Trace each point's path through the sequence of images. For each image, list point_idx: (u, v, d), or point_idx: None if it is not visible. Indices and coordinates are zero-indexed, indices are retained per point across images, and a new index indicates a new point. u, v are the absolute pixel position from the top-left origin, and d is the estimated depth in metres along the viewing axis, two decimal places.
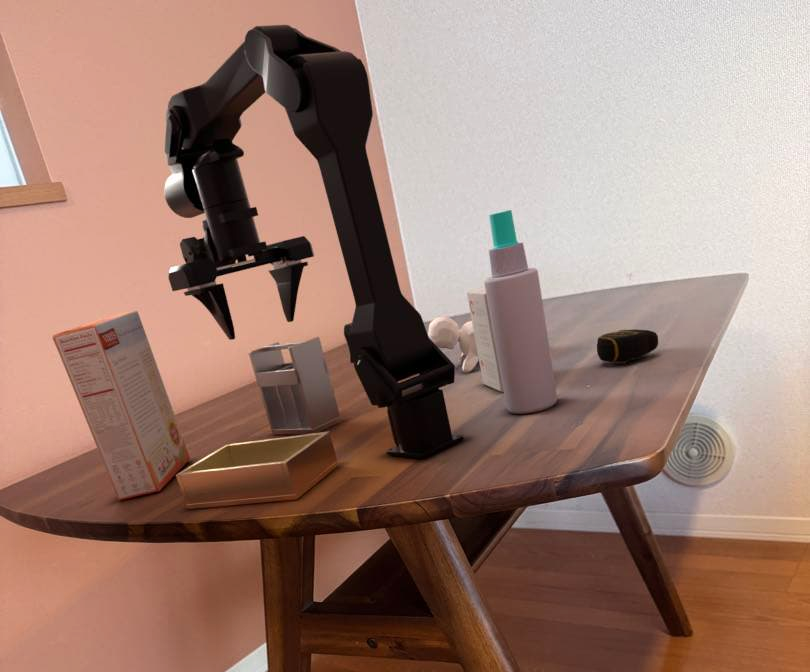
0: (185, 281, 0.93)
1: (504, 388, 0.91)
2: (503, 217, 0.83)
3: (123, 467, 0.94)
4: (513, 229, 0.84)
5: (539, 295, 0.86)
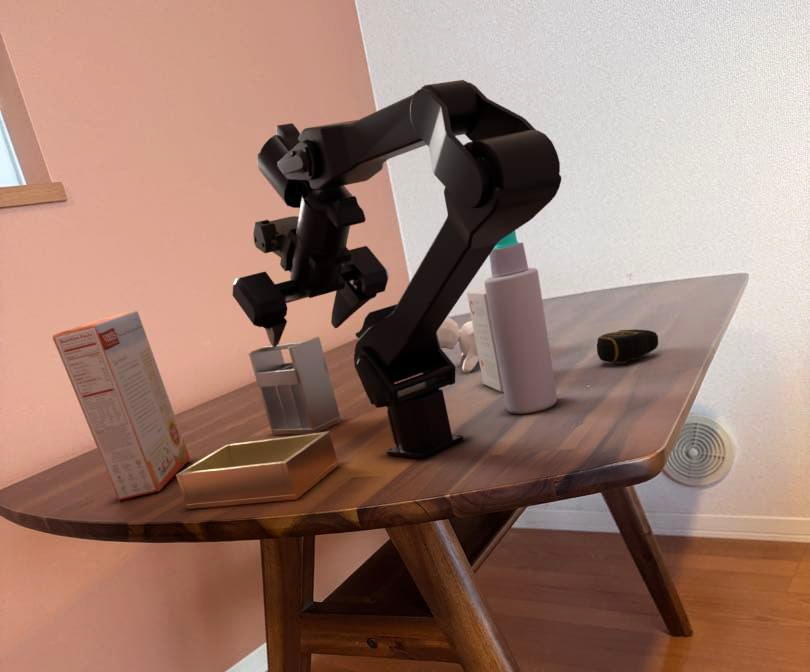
0: (251, 315, 0.88)
1: (504, 388, 0.91)
2: None
3: (123, 467, 0.94)
4: None
5: (539, 295, 0.86)
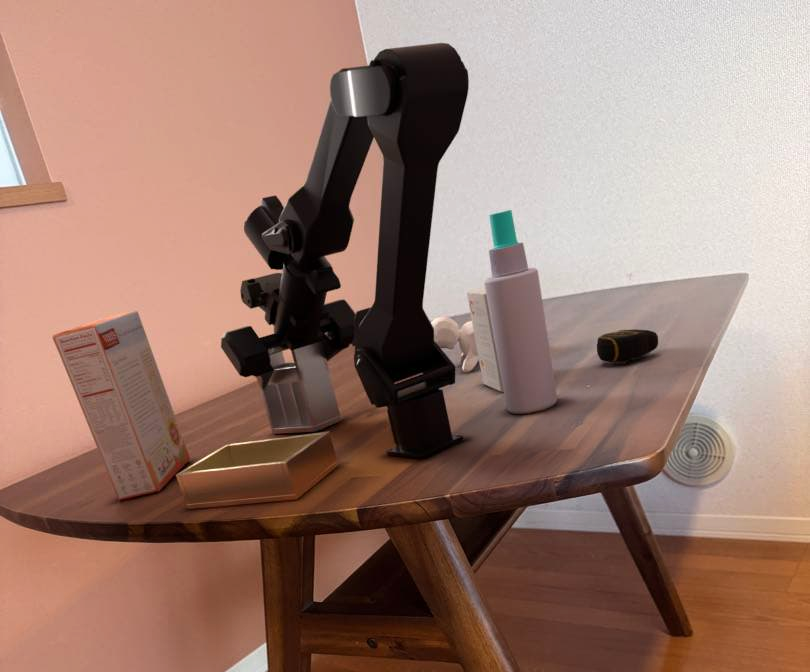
0: (237, 367, 0.97)
1: (504, 388, 0.91)
2: (503, 217, 0.83)
3: (123, 467, 0.94)
4: (513, 229, 0.84)
5: (539, 295, 0.86)
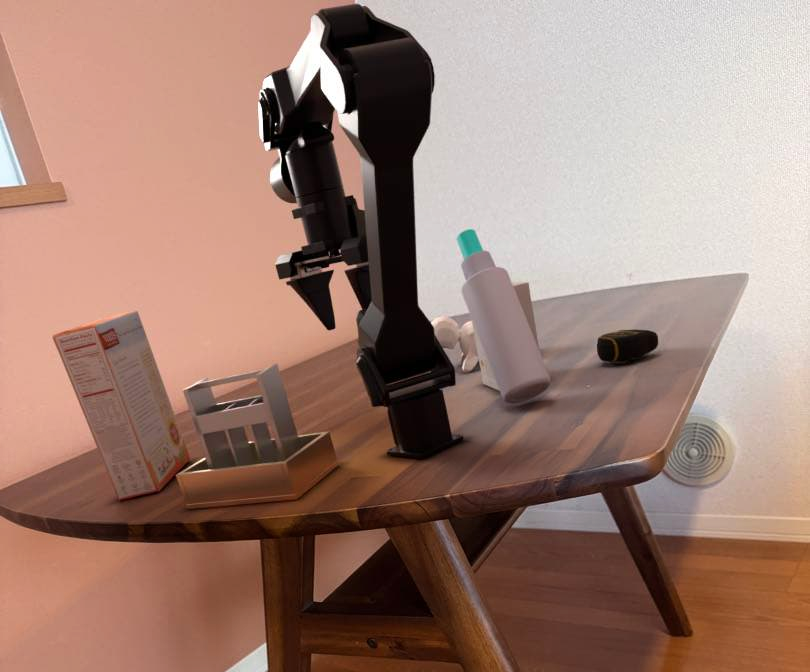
0: None
1: (496, 377, 0.93)
2: (467, 234, 0.95)
3: (123, 467, 0.94)
4: (479, 243, 0.95)
5: (511, 287, 0.93)
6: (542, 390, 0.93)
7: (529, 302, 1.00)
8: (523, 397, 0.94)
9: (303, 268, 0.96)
